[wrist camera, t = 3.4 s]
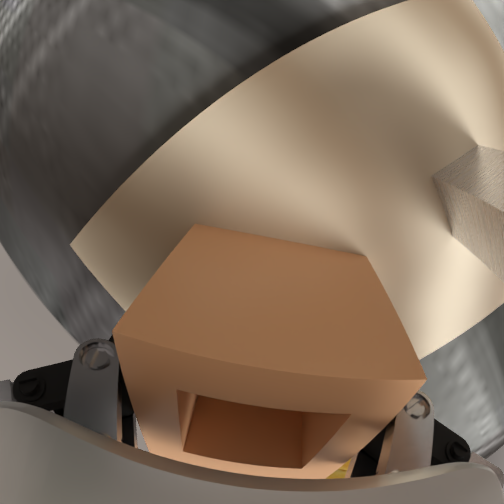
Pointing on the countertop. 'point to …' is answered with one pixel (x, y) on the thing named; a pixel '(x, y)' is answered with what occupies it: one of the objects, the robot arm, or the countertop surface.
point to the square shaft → (476, 203)
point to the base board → (332, 164)
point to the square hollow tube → (264, 355)
